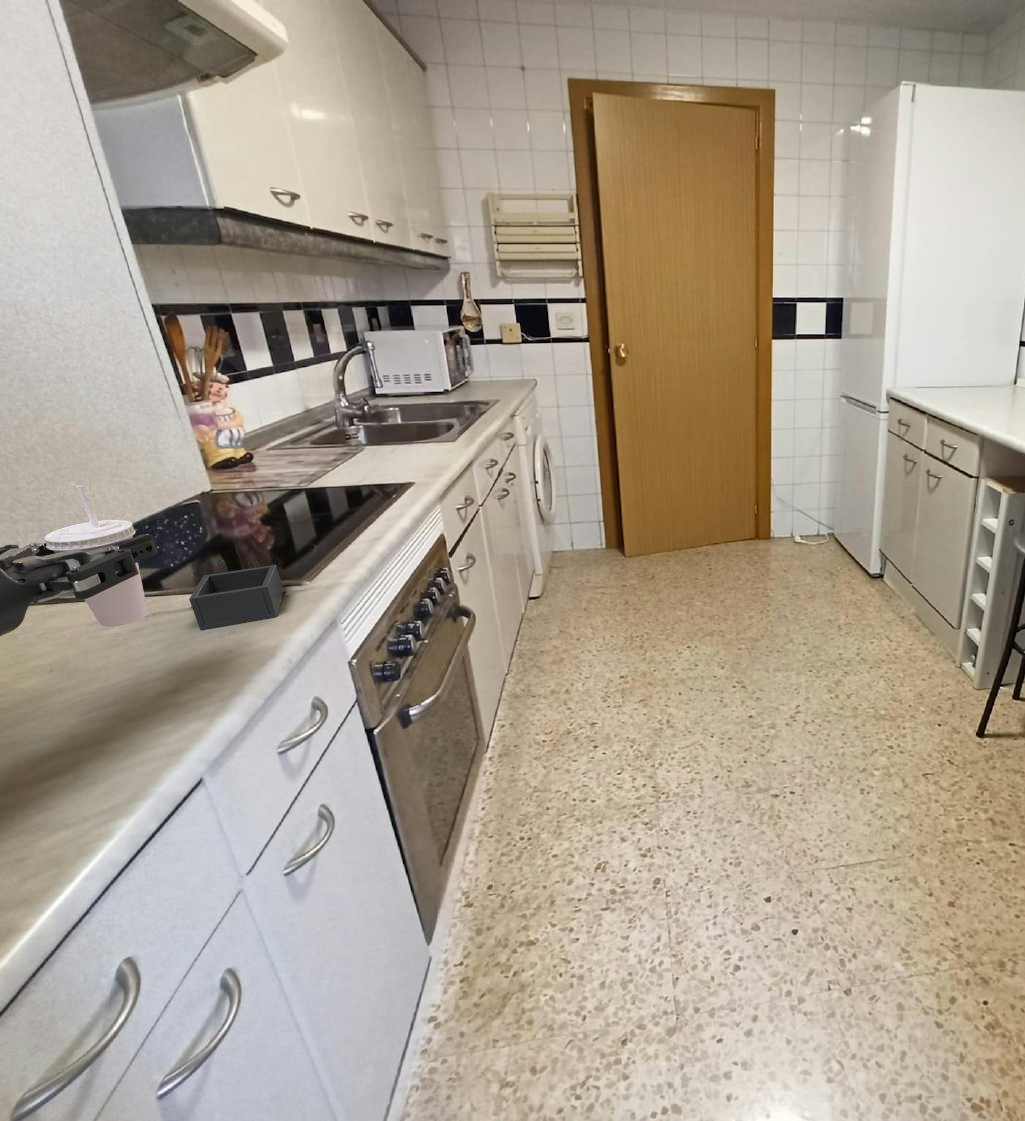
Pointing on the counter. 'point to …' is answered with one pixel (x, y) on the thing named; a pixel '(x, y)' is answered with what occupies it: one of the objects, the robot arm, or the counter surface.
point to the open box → (237, 597)
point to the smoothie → (121, 599)
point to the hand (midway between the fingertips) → (120, 542)
